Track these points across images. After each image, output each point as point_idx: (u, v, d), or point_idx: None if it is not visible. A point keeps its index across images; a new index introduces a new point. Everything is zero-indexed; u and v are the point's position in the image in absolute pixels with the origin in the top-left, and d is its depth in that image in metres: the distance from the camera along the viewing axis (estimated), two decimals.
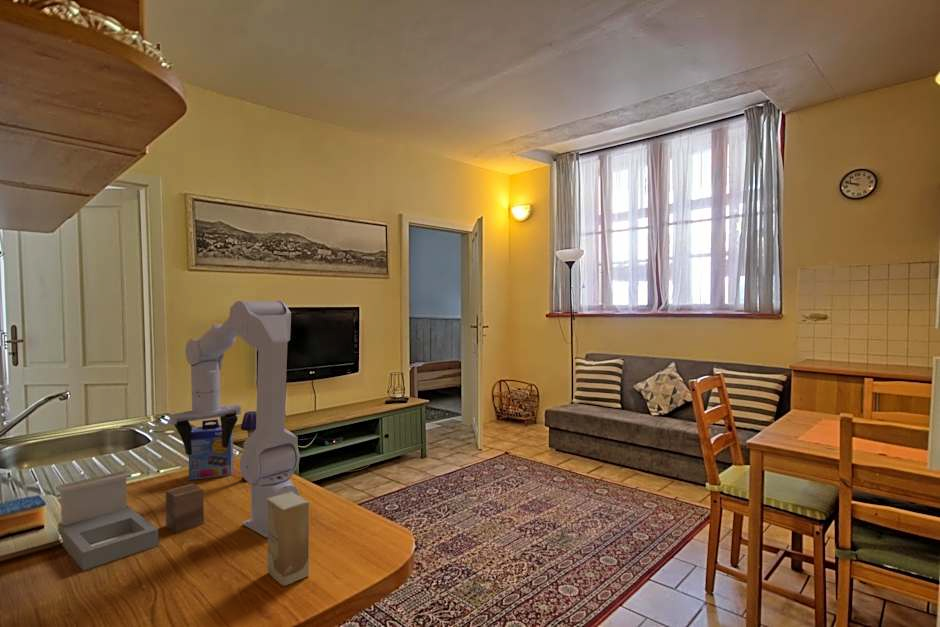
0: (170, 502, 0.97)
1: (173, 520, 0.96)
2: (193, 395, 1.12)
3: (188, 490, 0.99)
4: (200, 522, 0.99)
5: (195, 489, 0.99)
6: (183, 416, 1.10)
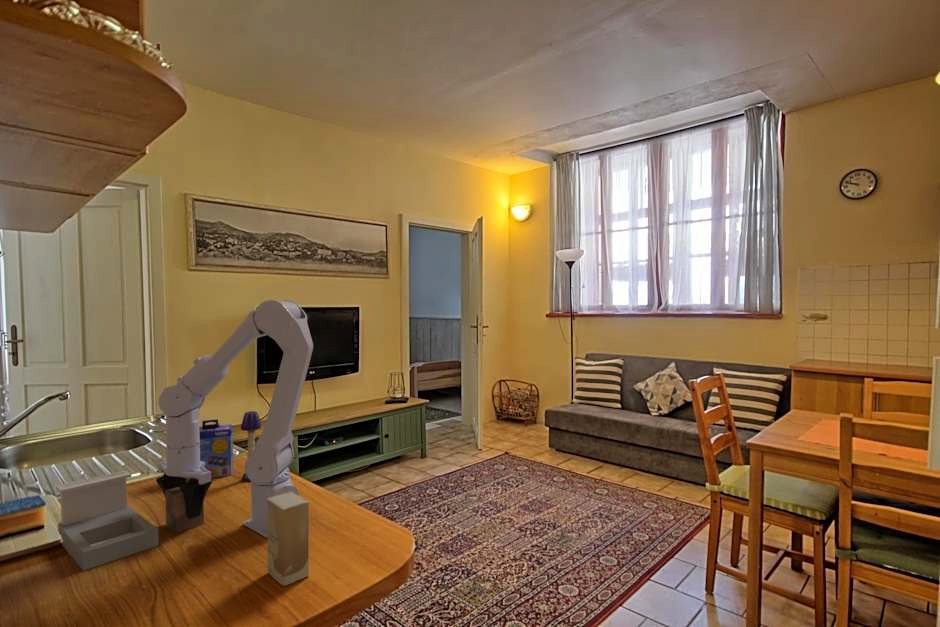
0: (170, 502, 0.97)
1: (173, 520, 0.96)
2: None
3: None
4: (200, 522, 0.99)
5: None
6: (162, 467, 1.00)
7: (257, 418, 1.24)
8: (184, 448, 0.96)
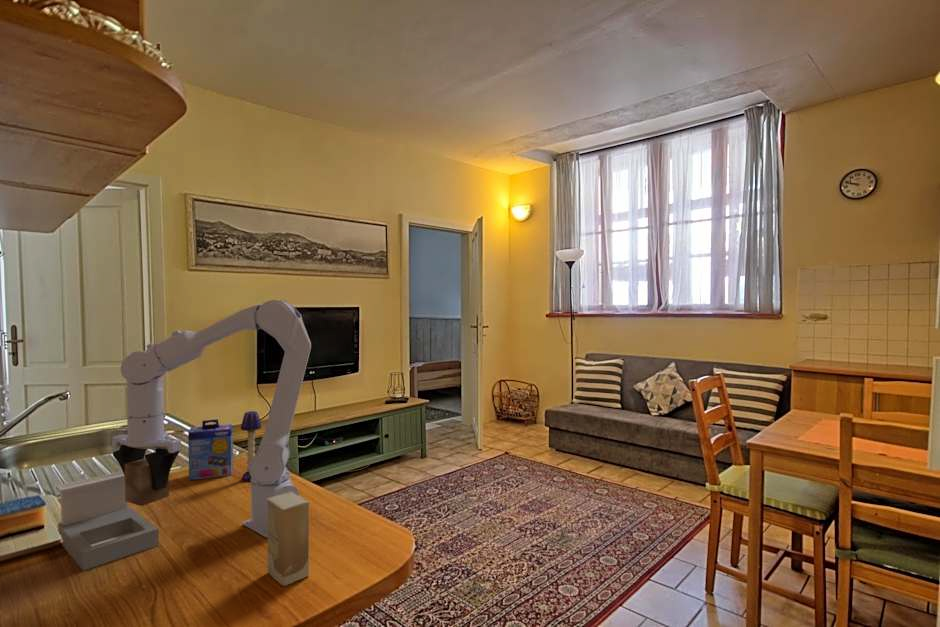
0: (132, 475, 0.92)
1: (137, 493, 0.91)
2: None
3: None
4: (165, 494, 0.95)
5: None
6: (118, 440, 0.94)
7: (257, 418, 1.24)
8: (149, 417, 0.92)
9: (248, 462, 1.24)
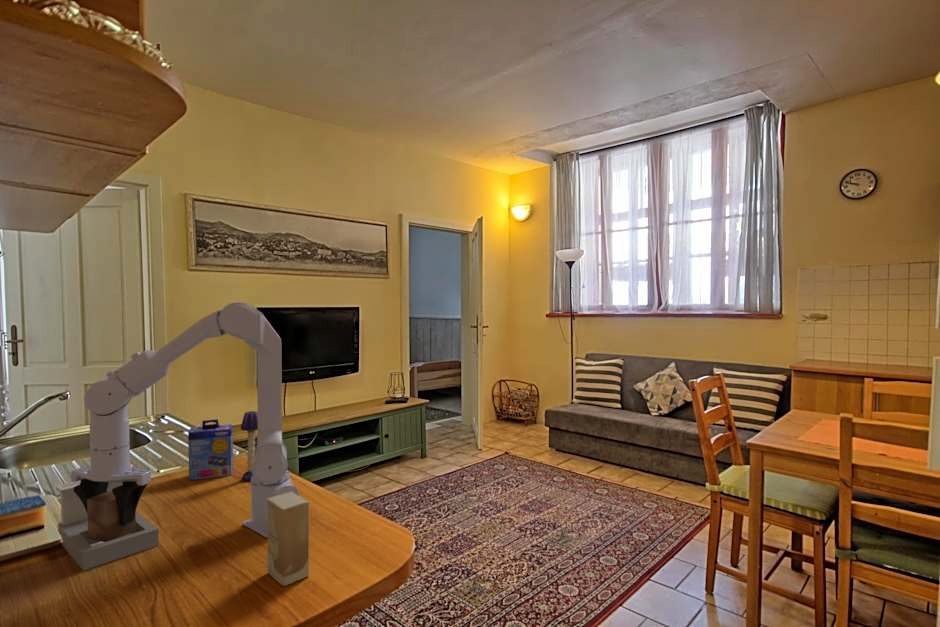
0: (96, 510, 0.87)
1: (102, 529, 0.87)
2: None
3: None
4: (132, 528, 0.91)
5: None
6: (79, 474, 0.89)
7: (257, 418, 1.24)
8: (116, 449, 0.88)
9: (248, 462, 1.24)
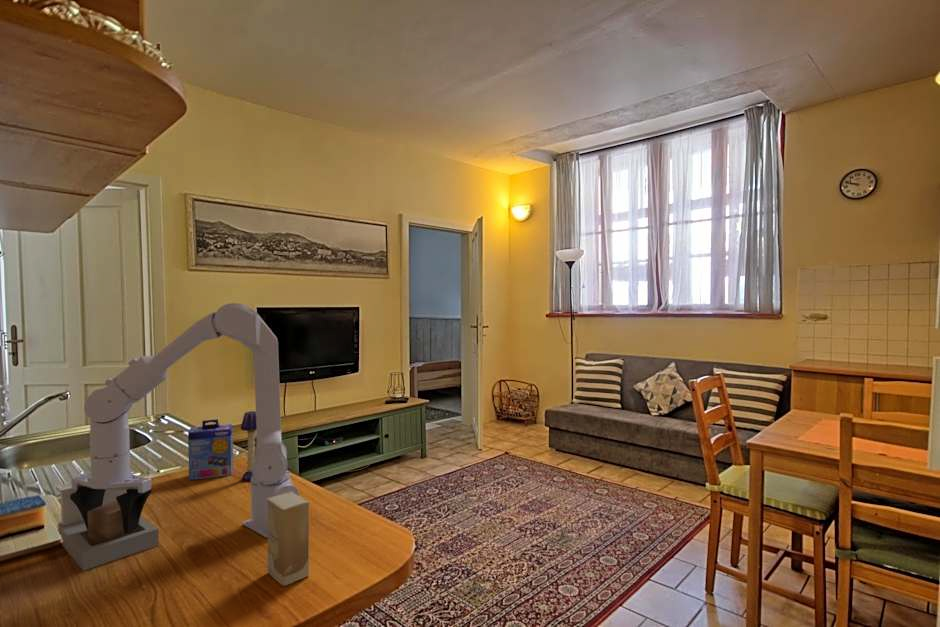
0: (97, 522, 0.87)
1: (104, 541, 0.87)
2: None
3: (117, 506, 0.90)
4: None
5: None
6: (79, 482, 0.89)
7: None
8: (116, 456, 0.88)
9: (248, 462, 1.24)
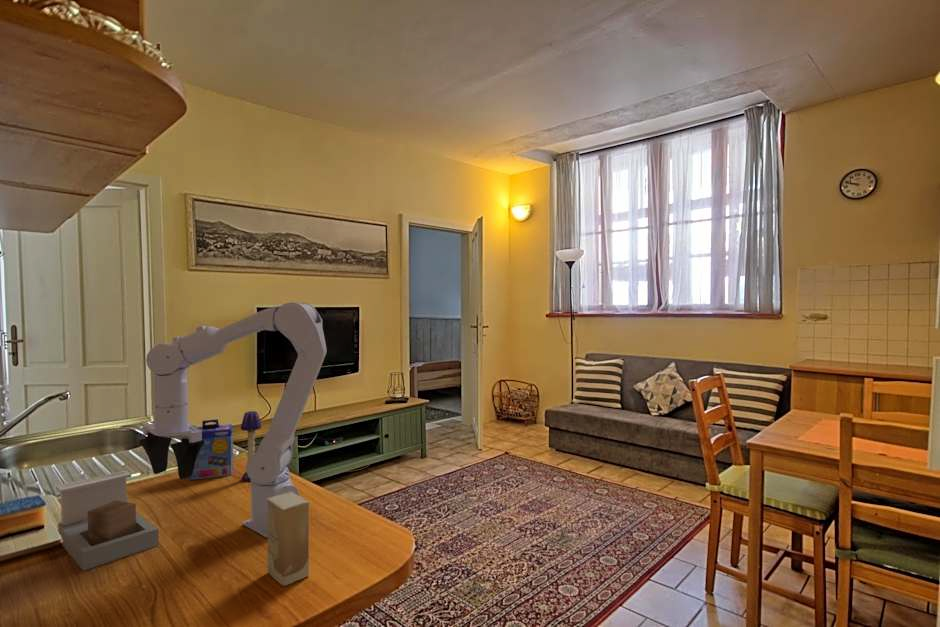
0: (97, 522, 0.87)
1: (104, 541, 0.87)
2: None
3: (117, 506, 0.90)
4: None
5: (126, 505, 0.91)
6: (147, 429, 0.98)
7: (257, 418, 1.24)
8: (173, 407, 0.95)
9: None
